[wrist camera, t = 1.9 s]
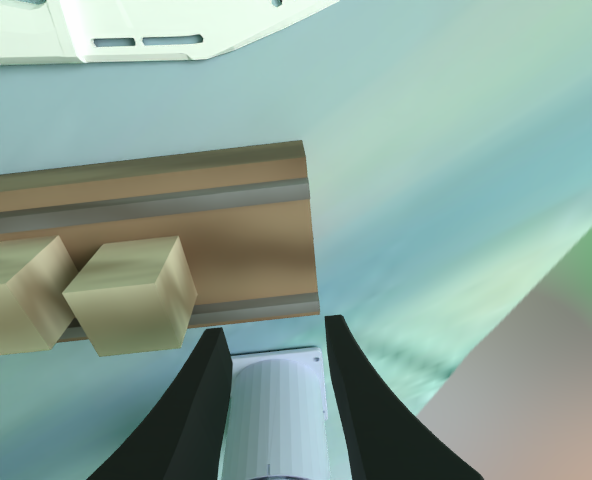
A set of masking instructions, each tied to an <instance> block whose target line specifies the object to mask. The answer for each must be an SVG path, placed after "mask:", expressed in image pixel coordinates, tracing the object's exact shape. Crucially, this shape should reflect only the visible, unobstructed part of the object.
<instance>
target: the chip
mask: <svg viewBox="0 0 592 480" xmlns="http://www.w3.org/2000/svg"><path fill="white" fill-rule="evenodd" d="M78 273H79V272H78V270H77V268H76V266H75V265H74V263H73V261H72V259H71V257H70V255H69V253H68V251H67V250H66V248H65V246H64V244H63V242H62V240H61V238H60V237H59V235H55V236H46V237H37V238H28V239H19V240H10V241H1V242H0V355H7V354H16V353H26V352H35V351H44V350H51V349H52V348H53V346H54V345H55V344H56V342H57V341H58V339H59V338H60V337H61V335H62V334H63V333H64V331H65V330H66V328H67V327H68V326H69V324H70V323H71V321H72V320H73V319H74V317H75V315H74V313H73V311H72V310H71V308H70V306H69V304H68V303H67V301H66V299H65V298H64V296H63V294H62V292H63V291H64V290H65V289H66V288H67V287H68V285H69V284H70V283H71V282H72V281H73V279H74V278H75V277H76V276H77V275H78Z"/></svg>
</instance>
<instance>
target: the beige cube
mask: <svg viewBox="0 0 592 480" xmlns="http://www.w3.org/2000/svg"><path fill="white" fill-rule="evenodd" d="M62 294H63V296H64V298H65V299H66V301H67V303H68V304H69V306H70V308H71V310H72V311H73V313H74V315H75V316H76V318H77V320H78V321H79V323H80V325H81V327H82V328H83V330H84V332H85V333H86V335H87V337H88V338H89V340H90V342H91V343H92V345H93V347H94V349H95V350H96V352H97V354H98V355H99V357H102V356H111V355H120V354H130V353H139V352H149V351H158V350H167V349H177V348H181V346H182V343H183V340H184V336H185V333H186V330H187V327H188V323H189V320H190V317H191V314H192V311H193V307H194V304H195V301H196V298H197V295H198V294H197V291H196V288H195V285H194V282H193V279H192V276H191V273H190V269H189V266H188V263H187V260H186V257H185V254H184V251H183V248H182V245H181V242H180V239H179V236H170V237H161V238H152V239H143V240H134V241H125V242H116V243H107V244H103V245H102V246H101V247H100V248H99V250H98V251H97V252H96V253H95V254H94V256H93V257H92V258H91V259H90V260H89V261H88V263H87V264H86V265H85V266H84V267H83V269H82V270H81V271H80V272H79V273H78V275H77V276H76V277H75V278H74V279H73V281H72V282H71V283H70V284H69V285H68V287H67V288H66V289H65V290H64V291H63V292H62Z"/></svg>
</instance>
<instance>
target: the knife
mask: <svg viewBox="0 0 592 480" xmlns="http://www.w3.org/2000/svg"><path fill="white" fill-rule="evenodd" d="M338 1H340V0H295V1H294V0H281V2H282V5H280V6H278V7H277V8H276V7H275V6H274V5H272V1H271V0H47V1H46V2H45V3H43V4H39V5H37V4H32V3H27V2H21V1H16V0H0V65H28V64H63V63H75V64H78V63H88V62H120V61H162V60H199V59H209V58H212V57H215V56H218V55H221V54H224V53H227V52H230V51H233V50H236V49H238V48H240V47H243V46H245V45H247V44H250V43H252V42H254V41H256V40H259V39H261V38H263V37H265V36H268V35H270V34H272V33H275V32H277V31H279V30H281V29H284V28H286V27H288V26H290V25H292V24H294V23H296V22H298V21H301V20H303V19H305V18H307V17H309V16H311V15H313V14H315V13H317V12H319V11H321V10H323V9H325V8H326V7H328V6H330V5H332V4H334V3H336V2H338ZM198 34H200V35H201V36H202V37H203V43H196V44H182V45H153V46H144V44H143V42H142V41H143V38H144V37H178V36H192V35H198ZM103 38H134V40H135V42H136V45H135V46H118V47H96V46H95V44H94V39H103Z"/></svg>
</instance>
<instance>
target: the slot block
mask: <svg viewBox="0 0 592 480" xmlns="http://www.w3.org/2000/svg"><path fill="white" fill-rule="evenodd" d="M55 235H59V237H60V238H61V240H62V242H63V244H64V246H65V248H66V250H67V251H68V253H69V255H70V257H71V259H72V261H73V263H74V265H75V266H76V268H77V270H78V272H80V271H81V270H82V269H83V267H84V266H85V265H86V264H87V263H88V261H89V260H90V259H91V258H92V257H93V256H94V254H95V253H96V252H97V251H98V250H99V248H100V247H101V246H102V245H103V244H107V243H116V242H125V241H134V240H143V239H152V238H161V237H170V236H179V239H180V242H181V245H182V248H183V251H184V254H185V257H186V260H187V263H188V266H189V269H190V273H191V276H192V279H193V282H194V285H195V288H196V291H197V294H198V295H197V298H196V301H195V304H194V307H193V311H192V314H191V317H190V320H189V323H188V327H187V329H189V328H198V327H207V326H217V325H226V324H235V323H245V322H254V321H263V320H272V319H282V318H291V317H300V316H310V315H319V314H320V305H319V297H318V289H317V278H316V266H315V255H314V244H313V233H312V222H311V210H310V191H309V182H308V177H307V165H306V156H305V151H304V147H303V143H302V140H299V141H291V142H282V143H273V144H264V145H256V146H247V147H238V148H230V149H221V150H212V151H204V152H195V153H186V154H177V155H169V156H160V157H151V158H143V159H134V160H125V161H116V162H108V163H99V164H90V165H82V166H73V167H64V168H55V169H47V170H38V171H29V172H21V173H12V174H3V175H0V242H1V241H10V240H19V239H28V238H37V237H46V236H55ZM86 339H89V338H88V337H87V335H86V333H85V332H84V330H83V328H82V327H81V325H80V323H79V321H78V320H77V318H76V316H75V317H74V319H73V320H72V321H71V323H70V324H69V326H68V327H67V328H66V330H65V331H64V333H63V334H62V335H61V337H60V338H59V339H58V341H57V342H56V343H58V342H68V341H77V340H86Z"/></svg>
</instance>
